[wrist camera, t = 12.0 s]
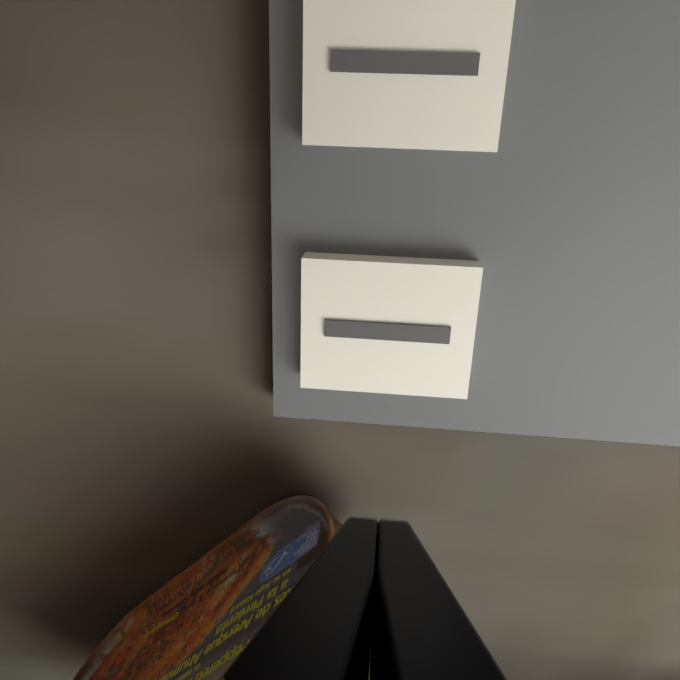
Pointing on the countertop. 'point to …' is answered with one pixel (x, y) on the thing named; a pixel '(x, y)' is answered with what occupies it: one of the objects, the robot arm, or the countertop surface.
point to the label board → (477, 215)
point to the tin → (216, 599)
